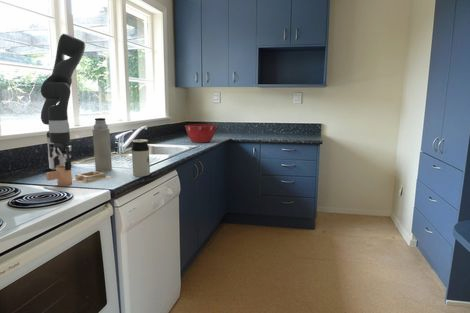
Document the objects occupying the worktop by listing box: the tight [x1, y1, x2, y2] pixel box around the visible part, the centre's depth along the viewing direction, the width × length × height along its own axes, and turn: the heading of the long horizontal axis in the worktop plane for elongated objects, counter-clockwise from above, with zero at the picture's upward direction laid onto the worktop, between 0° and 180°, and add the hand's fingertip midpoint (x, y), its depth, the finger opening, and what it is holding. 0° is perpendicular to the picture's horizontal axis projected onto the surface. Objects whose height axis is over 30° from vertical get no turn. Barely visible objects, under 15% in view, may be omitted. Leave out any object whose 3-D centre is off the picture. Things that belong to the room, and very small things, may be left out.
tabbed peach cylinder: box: [45, 164, 73, 187], centre depth 136 cm, size 10×6×9 cm, turn 148°
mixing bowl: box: [184, 123, 217, 144], centre depth 286 cm, size 28×28×16 cm
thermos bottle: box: [92, 117, 113, 172], centre depth 166 cm, size 8×8×28 cm
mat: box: [43, 186, 62, 193], centre depth 139 cm, size 12×12×1 cm
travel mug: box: [131, 138, 151, 177], centre depth 157 cm, size 8×8×18 cm
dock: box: [72, 170, 113, 184], centre depth 150 cm, size 14×14×3 cm
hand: (62, 168), depth 137 cm, fingers open, 8 cm apart
